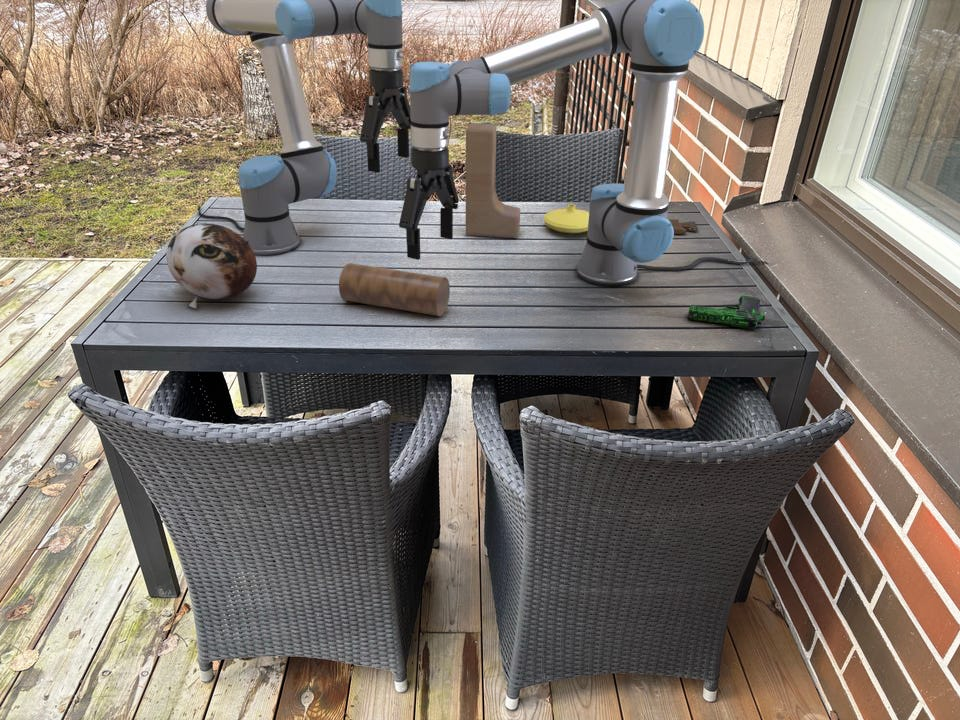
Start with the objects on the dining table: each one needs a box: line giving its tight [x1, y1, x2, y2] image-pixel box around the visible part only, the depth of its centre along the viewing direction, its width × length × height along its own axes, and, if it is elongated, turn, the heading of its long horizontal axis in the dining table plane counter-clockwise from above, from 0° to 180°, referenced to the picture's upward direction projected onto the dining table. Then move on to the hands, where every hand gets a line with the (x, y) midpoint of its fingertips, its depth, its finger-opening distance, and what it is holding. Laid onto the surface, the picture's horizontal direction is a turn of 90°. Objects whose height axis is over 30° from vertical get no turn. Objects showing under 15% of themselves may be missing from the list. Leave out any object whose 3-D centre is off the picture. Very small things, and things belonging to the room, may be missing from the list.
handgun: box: [687, 295, 766, 331], centre depth 164 cm, size 16×3×15 cm
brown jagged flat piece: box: [667, 218, 698, 235], centre depth 212 cm, size 26×2×10 cm
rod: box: [338, 262, 451, 317], centre depth 164 cm, size 24×9×9 cm, turn 72°
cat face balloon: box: [165, 222, 258, 309], centre depth 165 cm, size 22×18×20 cm
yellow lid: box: [543, 203, 589, 234], centre depth 209 cm, size 16×16×7 cm
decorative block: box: [465, 122, 521, 239], centre depth 199 cm, size 8×15×30 cm, turn 82°
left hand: (389, 164), depth 168 cm, fingers open, 13 cm apart
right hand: (430, 247), depth 152 cm, fingers open, 13 cm apart
